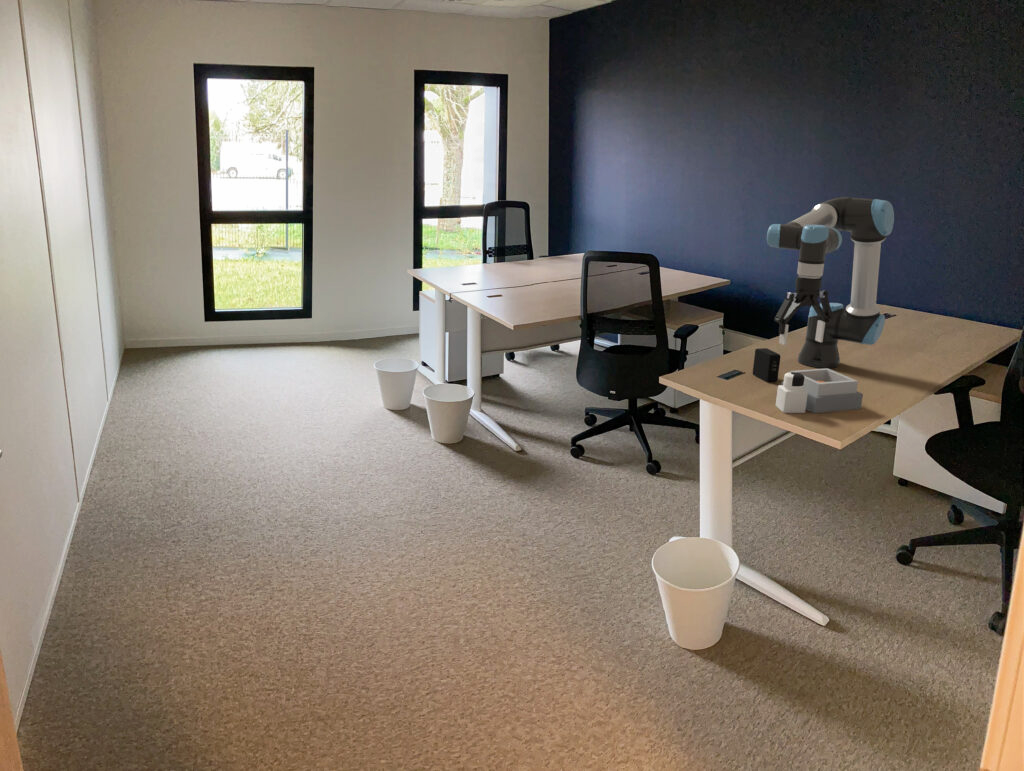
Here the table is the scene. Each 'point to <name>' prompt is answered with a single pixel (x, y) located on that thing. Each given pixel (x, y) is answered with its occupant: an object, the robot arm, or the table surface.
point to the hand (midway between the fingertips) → (800, 342)
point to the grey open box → (830, 391)
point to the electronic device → (766, 365)
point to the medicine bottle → (792, 394)
